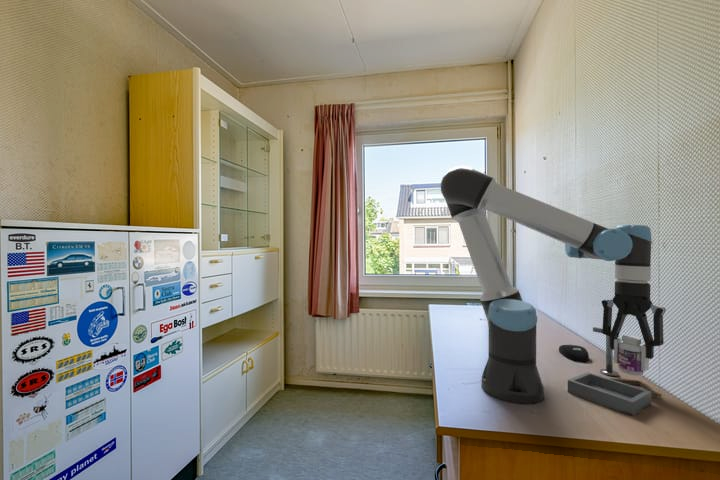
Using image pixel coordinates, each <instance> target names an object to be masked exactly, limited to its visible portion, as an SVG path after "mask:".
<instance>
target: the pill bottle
mask: <svg viewBox="0 0 720 480" xmlns="http://www.w3.org/2000/svg"><path fill="white" fill-rule="evenodd" d="M621 337H622V338H621V339H622V343H620V344H619V358H618V363H617V365H618V369H617V370H618V371H620V372H621V373H623V374H626V375H630V376H636V377H637V376H638V377H640V376H643V375H644V373H645V371H643V370H641V346H642V345H641V344H642V339H641V338H640V337H638V336H633V335H625V334H624V335H621Z"/></svg>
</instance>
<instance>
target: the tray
mask: <svg viewBox="0 0 720 480" xmlns="http://www.w3.org/2000/svg"><path fill="white" fill-rule="evenodd" d="M609 378H610V377H609ZM609 378H606V376H602V375H599V374H595V373H593V372H588V371H587V372H585V373H582V374H579V375H577V376H574V377H572V378H570V379H567V392H568V393H570V394H573V395H576V396H578V397H581V398H583V399H587V400H588V401H589V400H590V401H592V402H595V403H597V404H599V405H603V406H605V407H608V408H610V409H613V410H616V411H619V412H621V413H623V414H626V415H629V416H632V417H634V416H635V415H637V414H639V413H640V412H641V411H644V410H645V409H646V408H648V407H650V406H651V405H652V397H651V391H648V390H646V389H645V388H642V387H638V386H635V385H632V384H625V383H622V382H618V381H615V380H612V379H609Z"/></svg>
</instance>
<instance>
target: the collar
mask: <svg viewBox="0 0 720 480" xmlns="http://www.w3.org/2000/svg"><path fill="white" fill-rule="evenodd" d="M605 378H609V379H612V380H615V381H618V382H622V383H625V384H628V385H633V386H635V385H636V386H640V387H641V388H642V389H644V390H648V391H651V398H658V399H662V398H663V397H662V393H660V392H659V391H658V390H656V389H654V388H653V387H651V386H650V385H648V384H647V383H645V382H644V381H642V380H640V379H639V380H637V379H627V378H619V377H618V378H617V377H610V376H608V377H607V376H605Z"/></svg>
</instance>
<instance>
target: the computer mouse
mask: <svg viewBox="0 0 720 480" xmlns="http://www.w3.org/2000/svg"><path fill="white" fill-rule="evenodd" d="M558 352H559V353H560V354H561V355H562V356H563V357H565V358H566V359H568V360H571V361H572V362H577V363H588V362H589V360H590V356H589V352H588V350H587V349H586V347H584V346H581V345H577V344H576V345H575V344H572V343H569V344H562V345H559V347H558Z"/></svg>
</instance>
